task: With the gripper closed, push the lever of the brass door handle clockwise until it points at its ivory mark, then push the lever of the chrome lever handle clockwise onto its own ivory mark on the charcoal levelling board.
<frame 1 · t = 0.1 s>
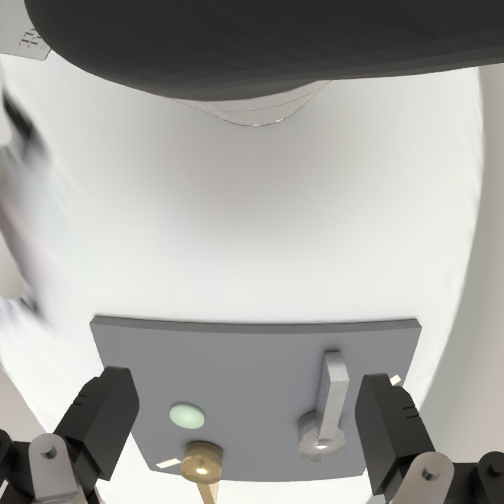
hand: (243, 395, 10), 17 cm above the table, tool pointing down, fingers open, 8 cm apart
levelling board: (254, 420, 34), on the table
brass door handle: (206, 477, 34), point 4 cm above the table, hinge at 0.0°
chrome lever handle: (326, 413, 28), point 4 cm above the table, hinge at 0.0°
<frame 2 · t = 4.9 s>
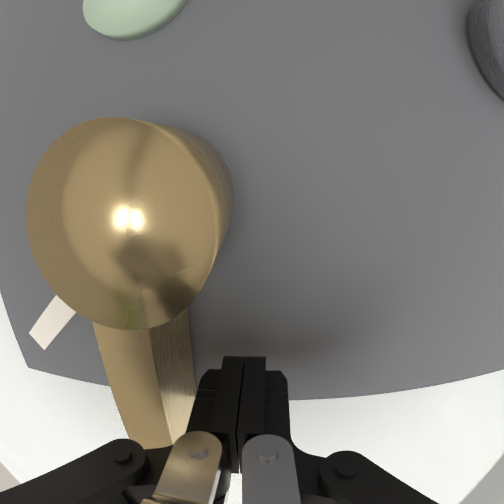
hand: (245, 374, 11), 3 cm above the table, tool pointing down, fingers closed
levelling board: (342, 54, 10), on the table
brass door handle: (152, 342, 10), point 4 cm above the table, hinge at -1.9°, touching gripper
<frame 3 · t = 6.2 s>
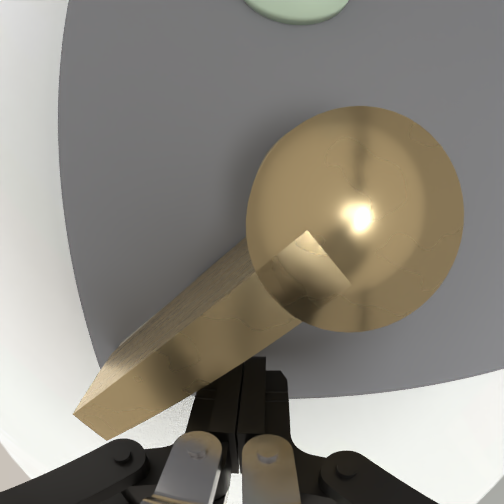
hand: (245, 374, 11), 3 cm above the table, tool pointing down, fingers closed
levelling board: (461, 77, 10), on the table
brass door handle: (227, 304, 9), point 4 cm above the table, hinge at -49.0°, touching gripper
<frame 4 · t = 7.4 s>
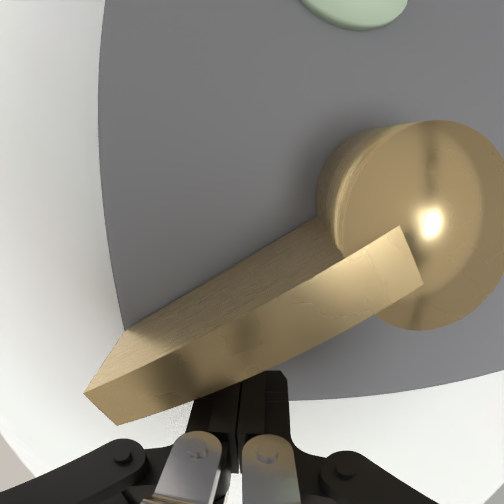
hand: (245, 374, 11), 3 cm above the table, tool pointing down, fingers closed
levelling board: (493, 87, 9), on the table
brass door handle: (282, 290, 9), point 4 cm above the table, hinge at -58.0°, touching gripper
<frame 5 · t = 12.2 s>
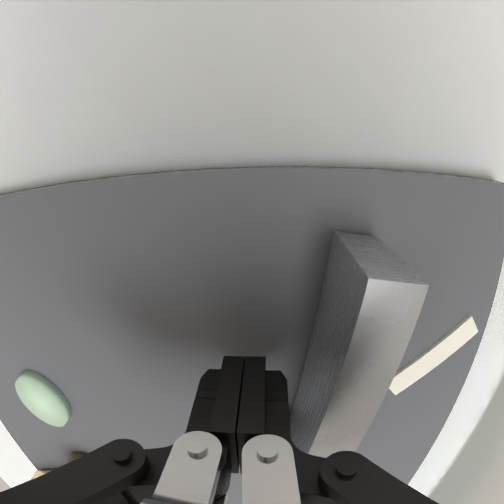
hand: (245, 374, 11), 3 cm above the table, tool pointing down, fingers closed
levelling board: (168, 428, 16), on the table
brass door handle: (64, 491, 16), point 4 cm above the table, hinge at -58.5°
chrome lever handle: (322, 420, 11), point 4 cm above the table, hinge at -8.1°, touching gripper
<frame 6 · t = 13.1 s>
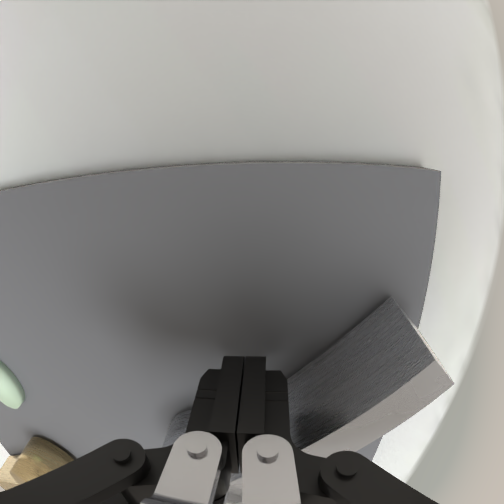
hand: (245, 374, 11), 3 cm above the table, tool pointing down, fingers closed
levelling board: (108, 415, 17), on the table
brass door handle: (28, 473, 16), point 4 cm above the table, hinge at -58.5°
chrome lever handle: (277, 436, 11), point 4 cm above the table, hinge at -45.4°
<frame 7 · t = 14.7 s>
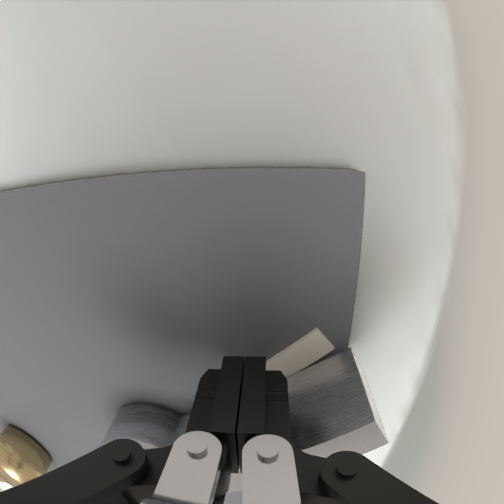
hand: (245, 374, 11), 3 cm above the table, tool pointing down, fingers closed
levelling board: (69, 408, 17), on the table
brass door handle: (3, 462, 16), point 4 cm above the table, hinge at -58.5°
chrome lever handle: (215, 449, 11), point 4 cm above the table, hinge at -58.9°, touching gripper
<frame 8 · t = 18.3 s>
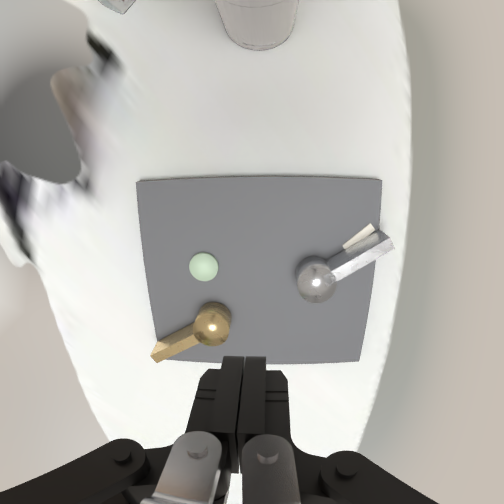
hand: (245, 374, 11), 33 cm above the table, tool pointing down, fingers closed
levelling board: (259, 278, 45), on the table
brass door handle: (189, 335, 45), point 4 cm above the table, hinge at -58.5°
chrome lever handle: (343, 263, 40), point 4 cm above the table, hinge at -59.0°
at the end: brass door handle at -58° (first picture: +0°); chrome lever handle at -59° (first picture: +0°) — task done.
